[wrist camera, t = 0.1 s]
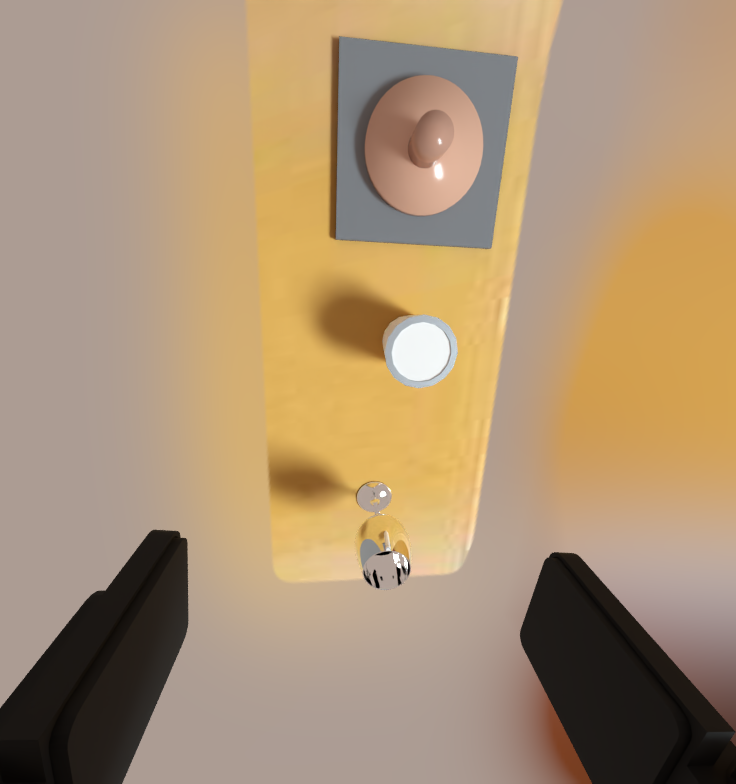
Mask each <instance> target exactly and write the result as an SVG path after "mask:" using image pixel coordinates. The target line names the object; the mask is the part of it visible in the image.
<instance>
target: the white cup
mask: <svg viewBox="0 0 736 784" xmlns="http://www.w3.org/2000/svg"><path fill="white" fill-rule="evenodd" d="M382 342H383V349H384V354H385V359H386V364H387V367H388V369H389V370H390V372H391V374H392V375H393V377H394V378H395V379H397V380H398V381H400V382H401V383H403V384H404V385H406V386H411V387H416V388H422V387H427V386H433V385H434V384H436V383H437V382H439V381H441V380H442V379H444V378H445V377H446V376H447V374H448V373H449V372H450V371H451V369H452V368H453V367H454V363H455V360H456V357H457V353H458V352H457V342H456V337H455V336H454V334H453V332H452V330H451V328H450V326H448V325H447V324H446V323H444V322H443V321H442V320H440V319H439V318H436V317H432V316H427V315H407V316H402V317H398V318H397V319H395V320H394V321H392V322H391V323H390V324H389V325H388V327H387V328H386V330H385V331H384V335H383V340H382Z"/></svg>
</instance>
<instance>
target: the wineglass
mask: <svg viewBox="0 0 736 784" xmlns="http://www.w3.org/2000/svg"><path fill="white" fill-rule="evenodd" d="M391 497H392V494H391V491H390V489H389V487H388V486H387V485H385V484H384V483H381V482H369V483H366V484H365V485H363V486H362V487H361V488H360V489H359V491H358V493H357V502H358V504H359V506H360V507H361V508H362V509H364V510H366V511H368V512H375V515H374V516H372V517H370V518H368V519H366V520H365V521H364V522H363V523H362V524H361V525H360V527H359V529H358V531H357V533H356V538H355V553H356V558H357V562H358V565H359V568H360V571H361V573H362V575H363V577H364V580H365V581H366V582H367V583H368V584H369V585H370V586H372V587H373V588H376V589H380V590H389V589H393V588H396V587H398V586H400V585H402V584H403V583H404V582H405V581H406V580H407V579H408V577H409V575H410V572H411V563H412V553H411V543H410V539H409V535H408V533H407V531H406V529H405V527H404V526H403V524H402V523H401V522H400V521H399V520H398V519H396V518H395V517H393V516H390V515H385V514H380V513H379V511H381V510H383V509H385V508H386V507H387V506H388V505H389V503H390V501H391Z"/></svg>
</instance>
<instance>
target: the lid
mask: <svg viewBox="0 0 736 784" xmlns="http://www.w3.org/2000/svg"><path fill="white" fill-rule="evenodd" d="M482 155H483V132H482V126H481V122H480V119H479V116H478V113H477V111H476V109H475V107H474V105H473V103H472V102H471V100H470V99H469V97H468V96H467V95H466V94H465V93H464V92H463V91H462V90H461V89H460V88H459V87H458V86H456V85H455V84H454V83H452V82H450V81H449V80H446V79H444V78H441V77H438V76H433V75H419V76H414V77H410V78H407V79H405V80H403V81H401V82H399V83H397V84H396V85H394V86H393V87H392V88H391V89H389V90H388V91H387V92H386V93H385V94H384V96H383V97H382V98H381V99H380V101H379V102H378V104H377V105H376V107H375V109H374V111H373V113H372V115H371V118H370V121H369V123H368V128H367V132H366V137H365V163H366V168H367V172H368V175H369V178H370V180H371V182H372V184H373V186H374V188H375V190H376V191H377V193H378V194H379V196H380V197H381V198H382V199H383V200H384V201H385V202H386V203H387V204H388V205H389V206H391V207H392V208H394V209H395V210H397V211H399V212H401V213H404V214H407V215H411V216H423V217H424V216H431V215H434V214H438V213H440V212H442V211H445V210H446V209H448V208H449V207H451V206H453V205H454V204H455V203H456V202H458V201H459V200H460V199H461V198H462V197H463V196H464V195H465V194H466V193H467V191H468V190H469V189H470V187H471V186H472V184H473V182H474V180H475V178H476V176H477V174H478V171H479V168H480V165H481V160H482Z"/></svg>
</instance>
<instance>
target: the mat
mask: <svg viewBox="0 0 736 784" xmlns="http://www.w3.org/2000/svg"><path fill="white" fill-rule="evenodd" d="M517 60H518V57H516V56H507V55H498V54H490V53H481V52H472V51H463V50H454V49H446V48H437V47H428V46H419V45H410V44H402V43H393V42H384V41H375V40H366V39H358V38H349V37H340V36H339V87H338V145H337V202H336V240H349V241H366V242H383V243H400V244H416V245H433V246H450V247H467V248H483V249H490V248H491V247H492V240H493V233H494V225H495V218H496V211H497V204H498V197H499V189H500V182H501V175H502V168H503V161H504V154H505V146H506V139H507V132H508V125H509V118H510V110H511V103H512V96H513V89H514V82H515V74H516V67H517ZM419 75H433V76H438V77H441V78H444V79H446V80H449V81H450V82H452V83H454V84H455V85H456V86H458V87H459V88H460V89H461V90H462V91H463V92H464V93H465V94H466V95H467V96H468V97H469V99H470V100H471V102H472V103H473V105H474V107H475V109H476V111H477V113H478V116H479V119H480V122H481V126H482V132H483V155H482V160H481V165H480V168H479V171H478V174H477V176H476V178H475V180H474V182H473V184H472V186H471V187H470V189H469V190H468V191H467V193H466V194H465V195H464V196H463V197H462V198H461V199H460V200H459V201H458V202H456V203H455V204H454V205H453V206H451V207H449V208H448V209H446V210H445V211H442V212H440V213H438V214H434V215H431V216H424V217H423V216H411V215H407V214H404V213H401V212H399V211H397V210H395V209H394V208H392V207H391V206H389V205H388V204H387V203H386V202H385V201H384V200H383V199H382V198H381V197H380V196H379V194H378V193H377V191H376V190H375V188H374V186H373V184H372V182H371V180H370V178H369V175H368V172H367V168H366V163H365V137H366V132H367V128H368V123H369V121H370V118H371V115H372V113H373V111H374V109H375V107H376V105H377V104H378V102H379V101H380V99H381V98H382V97H383V96H384V94H385V93H386V92H387V91H388V90H389V89H391V88H392V87H393V86H394V85H396V84H397V83H399V82H401V81H403V80H405V79H407V78H410V77H414V76H419Z"/></svg>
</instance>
